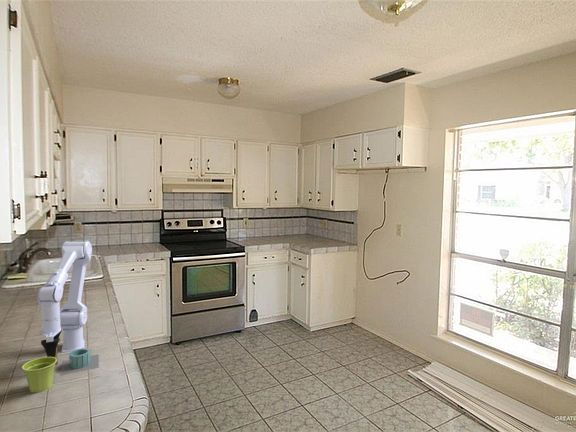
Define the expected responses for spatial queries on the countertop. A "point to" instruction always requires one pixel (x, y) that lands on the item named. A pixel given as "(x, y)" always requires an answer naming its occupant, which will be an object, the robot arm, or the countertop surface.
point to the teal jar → (80, 358)
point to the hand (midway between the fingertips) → (52, 354)
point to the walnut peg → (56, 357)
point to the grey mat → (68, 370)
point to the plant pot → (40, 373)
